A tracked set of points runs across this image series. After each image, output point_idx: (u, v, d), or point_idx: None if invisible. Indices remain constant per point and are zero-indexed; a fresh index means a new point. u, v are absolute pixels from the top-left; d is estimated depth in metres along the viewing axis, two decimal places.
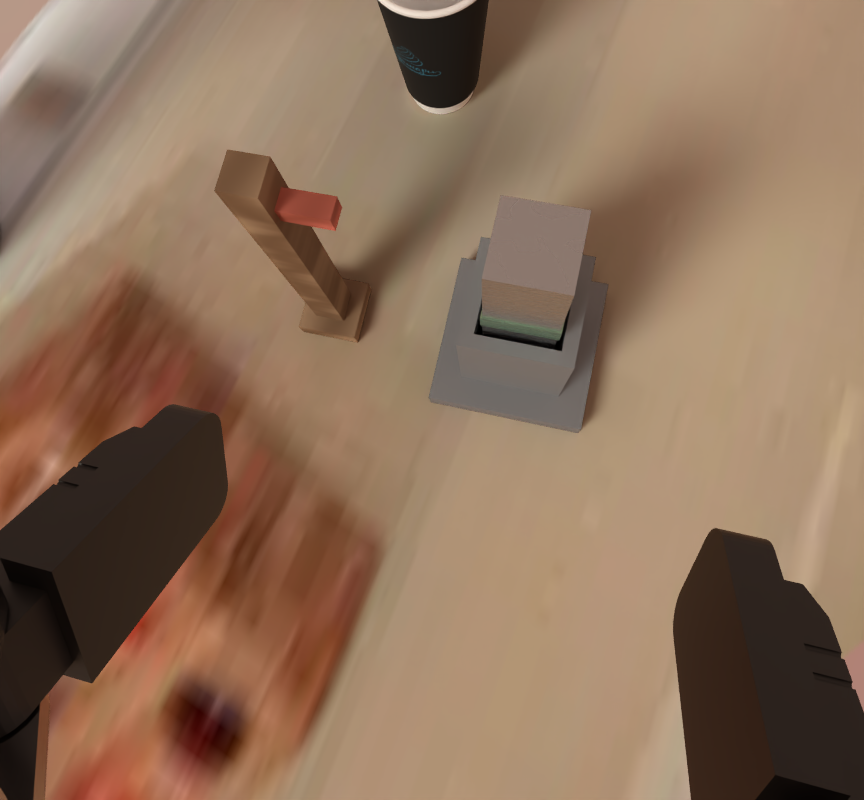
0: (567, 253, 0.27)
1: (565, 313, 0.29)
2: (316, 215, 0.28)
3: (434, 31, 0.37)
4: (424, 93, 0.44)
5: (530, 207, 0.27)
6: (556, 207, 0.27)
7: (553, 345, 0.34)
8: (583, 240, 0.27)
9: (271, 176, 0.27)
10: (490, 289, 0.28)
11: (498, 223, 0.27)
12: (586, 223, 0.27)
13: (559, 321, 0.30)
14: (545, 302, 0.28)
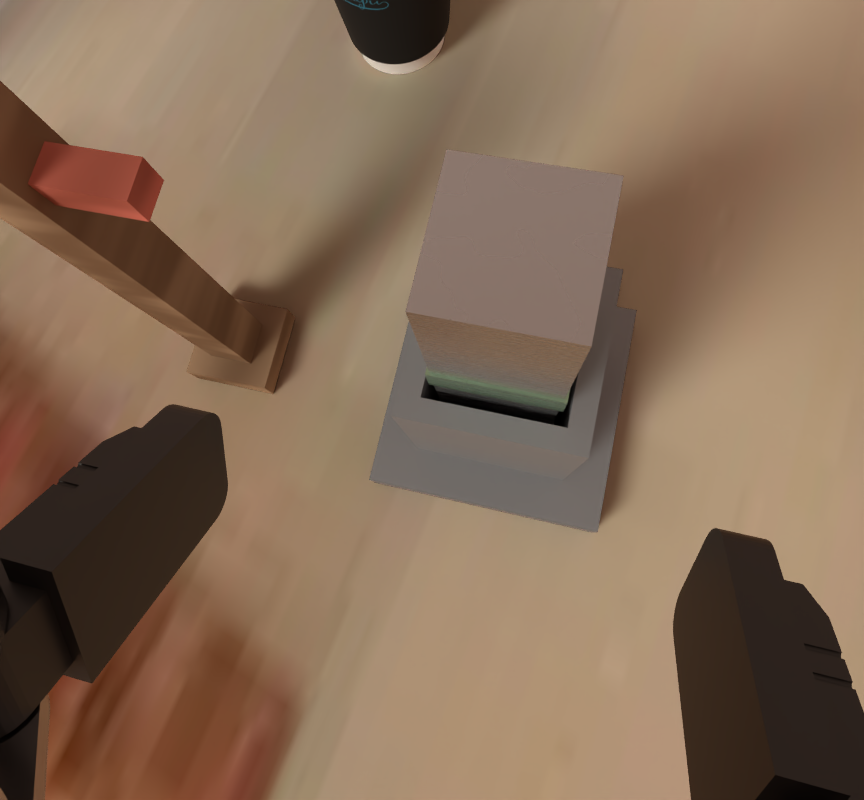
0: (577, 261, 0.13)
1: (573, 374, 0.15)
2: (102, 192, 0.15)
3: None
4: (370, 40, 0.31)
5: (503, 172, 0.14)
6: (555, 172, 0.14)
7: (553, 416, 0.20)
8: (609, 234, 0.13)
9: (5, 116, 0.14)
10: (428, 330, 0.14)
11: (440, 203, 0.14)
12: (614, 201, 0.14)
13: (562, 385, 0.16)
14: (535, 355, 0.14)
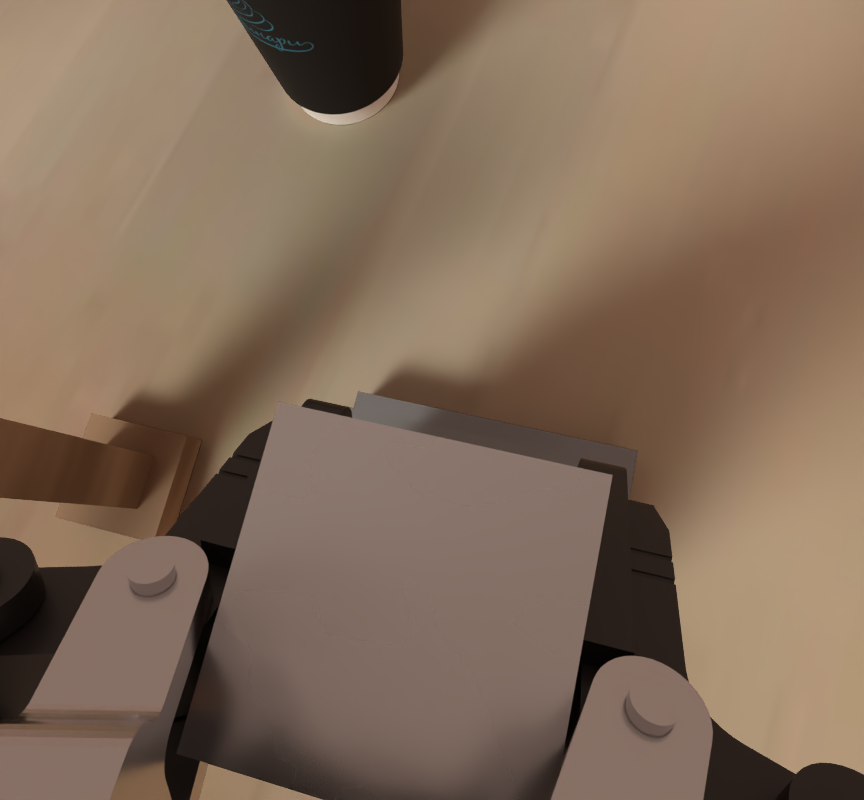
0: (518, 661, 0.07)
1: None
2: None
3: None
4: (299, 87, 0.24)
5: (382, 454, 0.07)
6: (480, 461, 0.07)
7: None
8: (582, 607, 0.07)
9: None
10: None
11: (259, 515, 0.07)
12: (594, 530, 0.07)
13: None
14: None
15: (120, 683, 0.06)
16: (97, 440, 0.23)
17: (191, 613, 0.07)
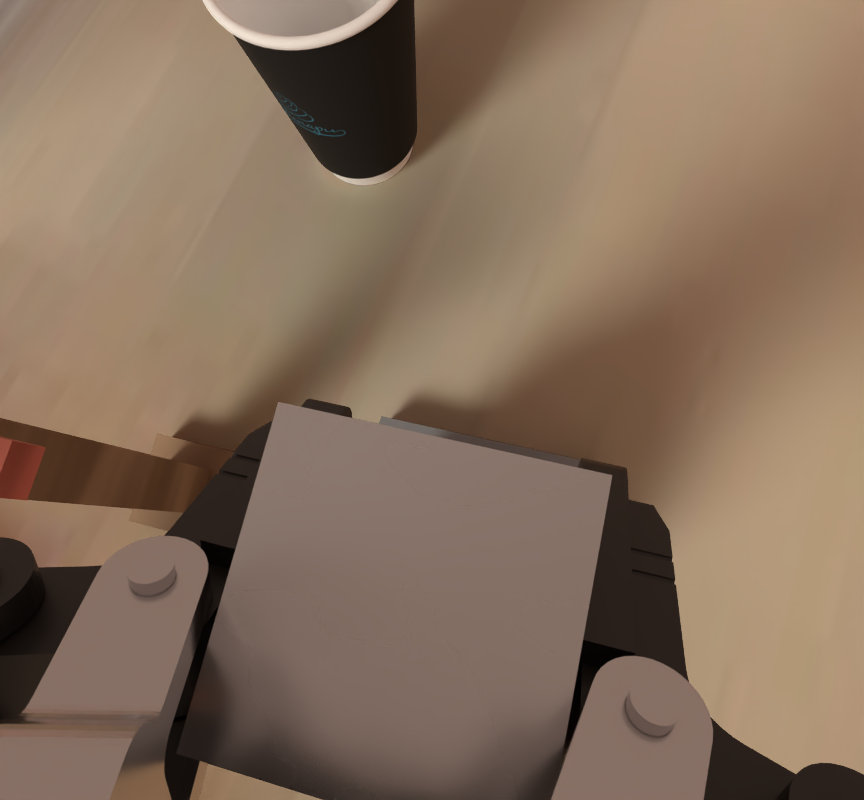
0: (518, 662, 0.07)
1: None
2: None
3: (316, 70, 0.22)
4: (330, 159, 0.29)
5: (382, 454, 0.07)
6: (479, 460, 0.07)
7: None
8: (581, 607, 0.07)
9: None
10: None
11: (259, 516, 0.07)
12: (593, 530, 0.07)
13: None
14: None
15: (120, 682, 0.06)
16: (162, 456, 0.28)
17: (191, 613, 0.07)
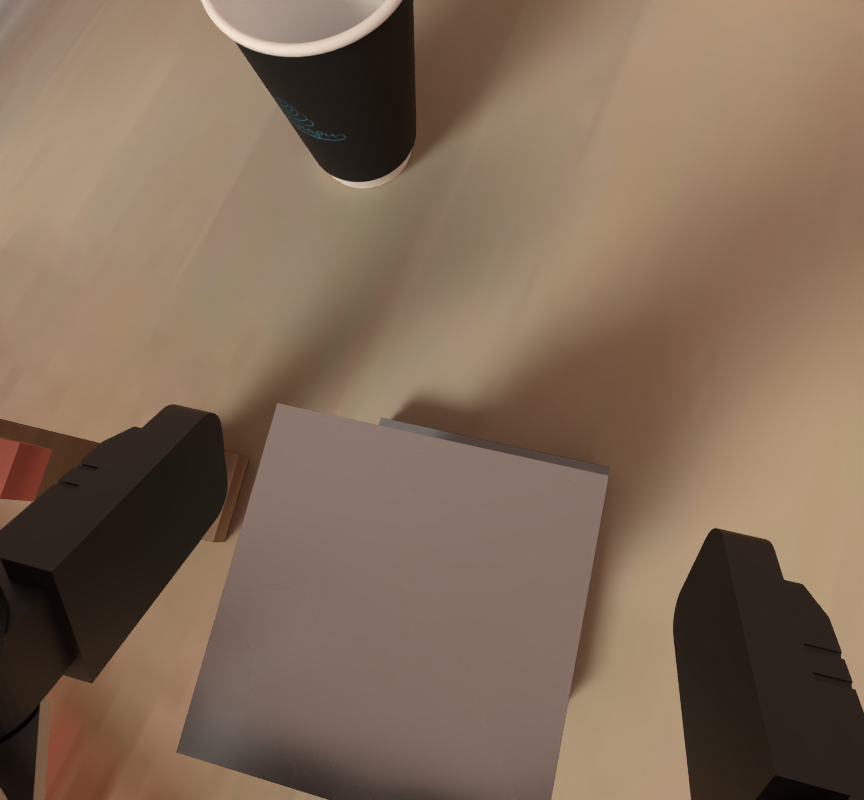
0: (515, 660, 0.07)
1: None
2: None
3: (316, 76, 0.22)
4: (330, 162, 0.29)
5: (380, 455, 0.07)
6: (477, 461, 0.07)
7: None
8: (578, 607, 0.07)
9: None
10: None
11: (258, 515, 0.07)
12: (590, 530, 0.07)
13: None
14: None
15: None
16: None
17: None
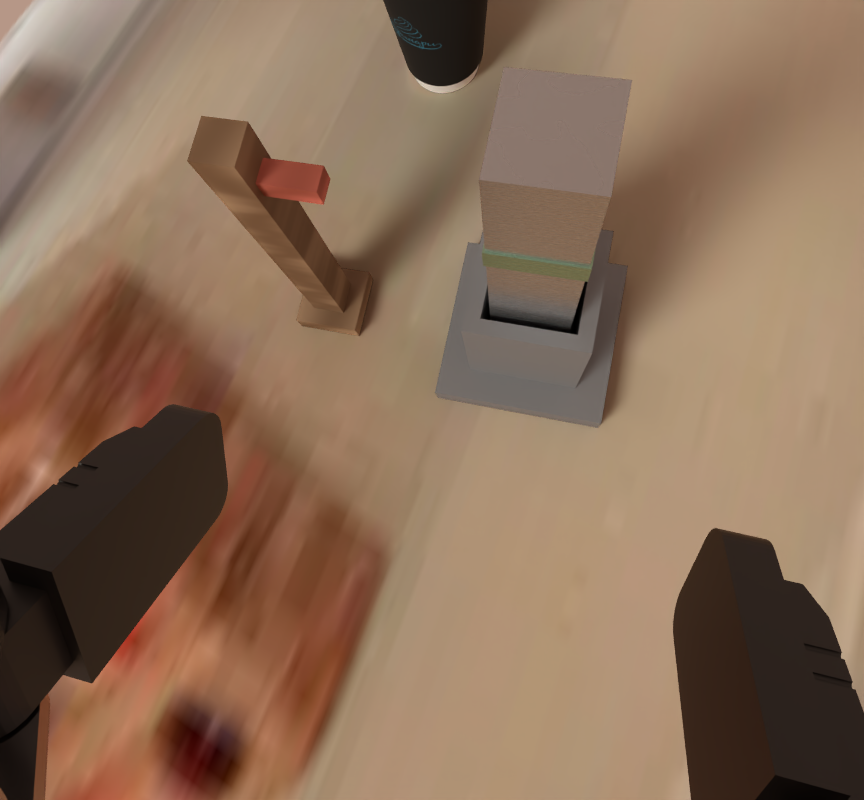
0: (600, 140, 0.19)
1: (597, 233, 0.21)
2: (301, 187, 0.25)
3: None
4: (425, 70, 0.41)
5: (545, 81, 0.20)
6: (582, 79, 0.19)
7: (579, 291, 0.26)
8: (622, 121, 0.19)
9: (250, 144, 0.25)
10: (492, 199, 0.20)
11: (500, 104, 0.20)
12: (625, 98, 0.19)
13: (588, 248, 0.22)
14: (570, 214, 0.20)
15: None
16: None
17: None
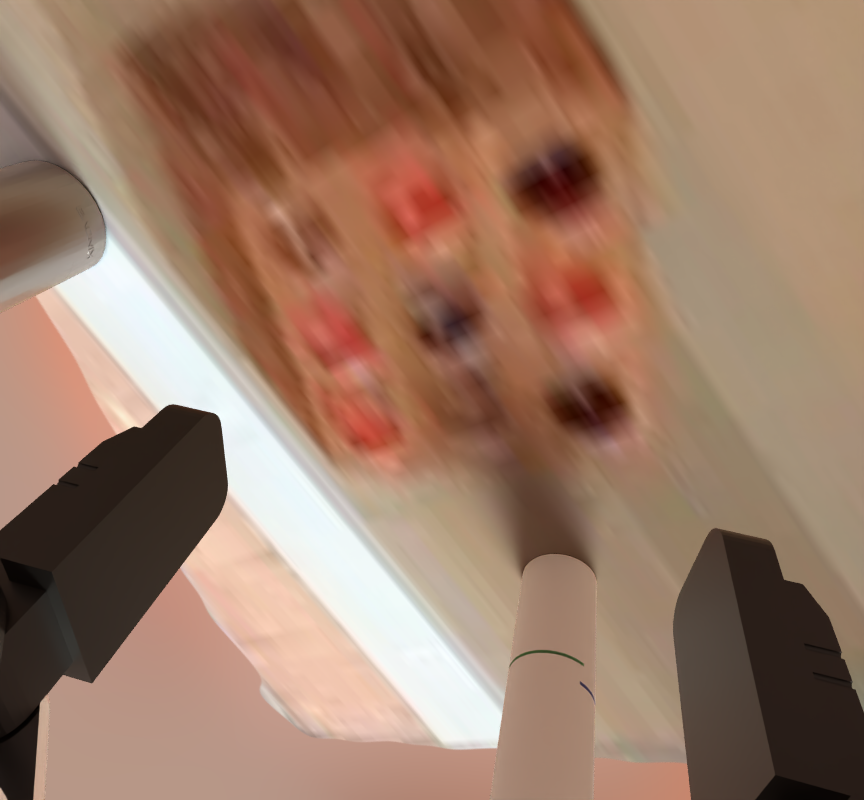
0: None
1: None
2: None
3: None
4: None
5: None
6: None
7: None
8: None
9: None
10: None
11: None
12: None
13: None
14: None
15: None
16: None
17: None
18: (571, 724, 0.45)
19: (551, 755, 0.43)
